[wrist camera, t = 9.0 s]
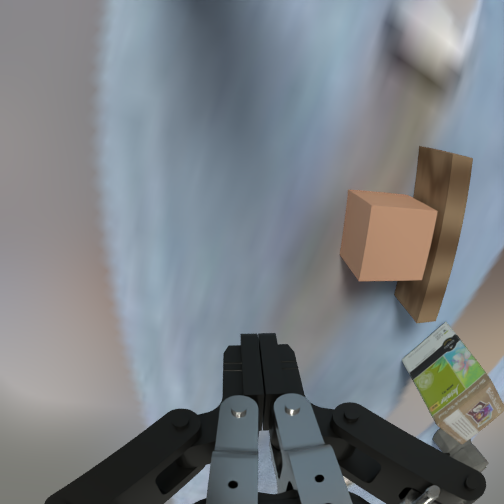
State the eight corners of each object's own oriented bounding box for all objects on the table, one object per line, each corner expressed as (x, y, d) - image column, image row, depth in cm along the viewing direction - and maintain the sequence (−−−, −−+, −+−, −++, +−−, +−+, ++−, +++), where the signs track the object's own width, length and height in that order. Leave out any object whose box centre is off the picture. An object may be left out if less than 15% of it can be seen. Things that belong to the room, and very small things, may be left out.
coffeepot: (474, 416, 58) (503, 466, 41) (451, 439, 61) (476, 489, 45) (438, 417, 55) (470, 477, 39) (413, 442, 58) (439, 501, 42)
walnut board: (419, 146, 33) (453, 154, 27) (438, 149, 33) (472, 158, 27) (394, 294, 41) (416, 323, 35) (411, 293, 41) (435, 321, 35)
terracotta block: (348, 189, 35) (371, 205, 29) (407, 194, 36) (437, 211, 29) (339, 254, 38) (358, 281, 32) (396, 255, 39) (421, 280, 32)
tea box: (398, 360, 46) (436, 427, 33) (445, 319, 44) (494, 378, 30) (430, 391, 51) (462, 447, 37) (469, 357, 48) (508, 409, 35)
